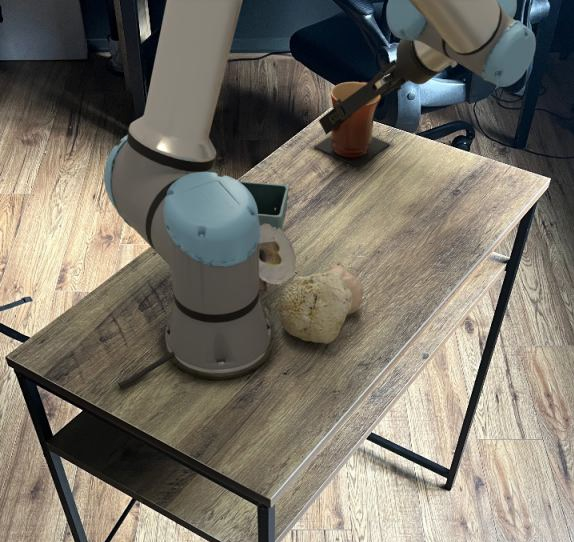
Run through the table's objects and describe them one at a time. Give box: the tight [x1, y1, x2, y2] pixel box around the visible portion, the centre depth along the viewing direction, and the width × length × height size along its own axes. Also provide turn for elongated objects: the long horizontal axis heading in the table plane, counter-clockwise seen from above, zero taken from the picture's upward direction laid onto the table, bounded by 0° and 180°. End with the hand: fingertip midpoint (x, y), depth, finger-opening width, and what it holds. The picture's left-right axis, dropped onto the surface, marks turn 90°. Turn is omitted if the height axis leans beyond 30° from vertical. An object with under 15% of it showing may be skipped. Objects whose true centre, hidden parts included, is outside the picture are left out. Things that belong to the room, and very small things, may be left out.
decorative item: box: [278, 270, 352, 344], centre depth 117 cm, size 12×9×10 cm
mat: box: [313, 135, 390, 168], centre depth 152 cm, size 10×10×1 cm
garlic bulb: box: [327, 261, 364, 315], centre depth 122 cm, size 7×6×8 cm
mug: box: [330, 81, 382, 158], centre depth 147 cm, size 12×9×10 cm
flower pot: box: [238, 180, 290, 239], centre depth 129 cm, size 9×9×9 cm
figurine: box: [259, 208, 297, 293], centre depth 120 cm, size 11×10×15 cm
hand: (344, 113), depth 148 cm, fingers closed on mug, 12 cm apart
